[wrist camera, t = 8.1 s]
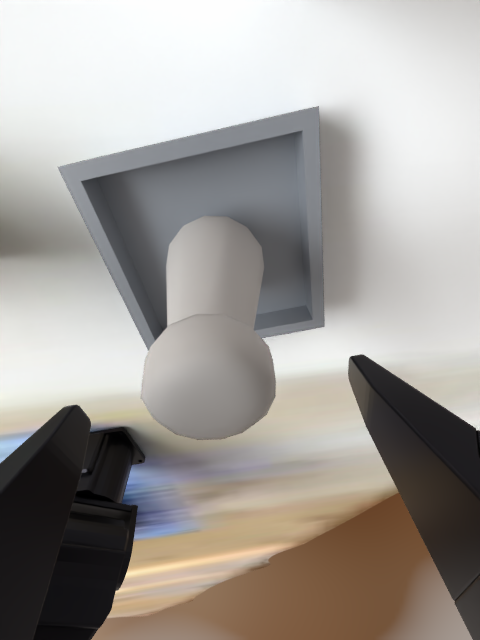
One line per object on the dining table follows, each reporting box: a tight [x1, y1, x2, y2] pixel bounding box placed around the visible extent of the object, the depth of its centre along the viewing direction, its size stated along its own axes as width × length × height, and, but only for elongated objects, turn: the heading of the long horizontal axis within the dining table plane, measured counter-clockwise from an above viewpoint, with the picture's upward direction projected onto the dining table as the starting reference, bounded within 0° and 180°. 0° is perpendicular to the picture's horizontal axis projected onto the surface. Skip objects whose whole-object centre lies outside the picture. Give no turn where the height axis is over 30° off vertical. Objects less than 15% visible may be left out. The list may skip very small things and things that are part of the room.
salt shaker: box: [141, 216, 276, 440], centre depth 14 cm, size 6×6×13 cm
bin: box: [58, 106, 324, 351], centre depth 19 cm, size 13×13×3 cm
